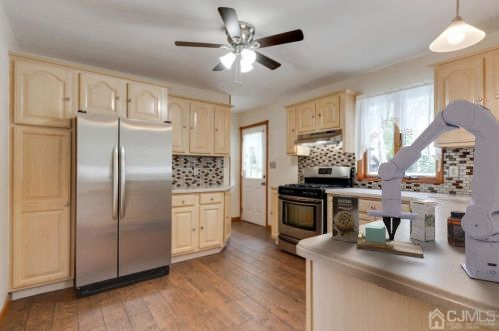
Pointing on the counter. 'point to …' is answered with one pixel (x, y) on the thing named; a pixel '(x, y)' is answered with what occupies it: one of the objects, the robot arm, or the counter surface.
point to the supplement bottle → (455, 229)
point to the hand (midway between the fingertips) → (391, 240)
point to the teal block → (375, 234)
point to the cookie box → (345, 218)
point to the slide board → (391, 246)
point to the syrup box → (423, 220)
